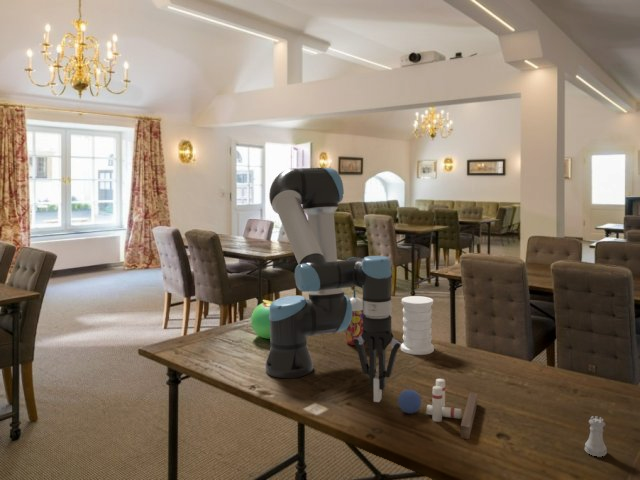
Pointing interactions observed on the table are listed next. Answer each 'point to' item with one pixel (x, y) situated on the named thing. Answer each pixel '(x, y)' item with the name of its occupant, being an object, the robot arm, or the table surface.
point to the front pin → (447, 412)
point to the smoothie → (355, 320)
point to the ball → (409, 401)
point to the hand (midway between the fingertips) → (377, 399)
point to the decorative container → (417, 325)
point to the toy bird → (261, 319)
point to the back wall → (468, 416)
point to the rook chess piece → (596, 438)
